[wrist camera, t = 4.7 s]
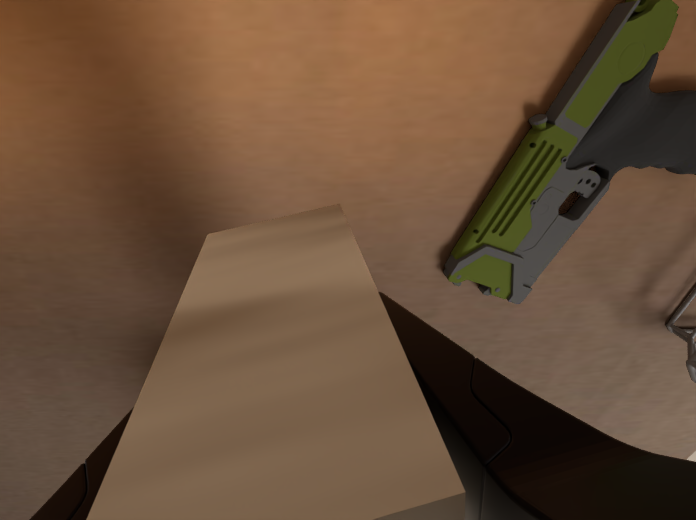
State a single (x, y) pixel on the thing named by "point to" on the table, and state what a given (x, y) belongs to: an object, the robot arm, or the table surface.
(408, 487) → the wooden l-shaped block
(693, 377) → the geometric lantern
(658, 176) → the table surface
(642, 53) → the gun
